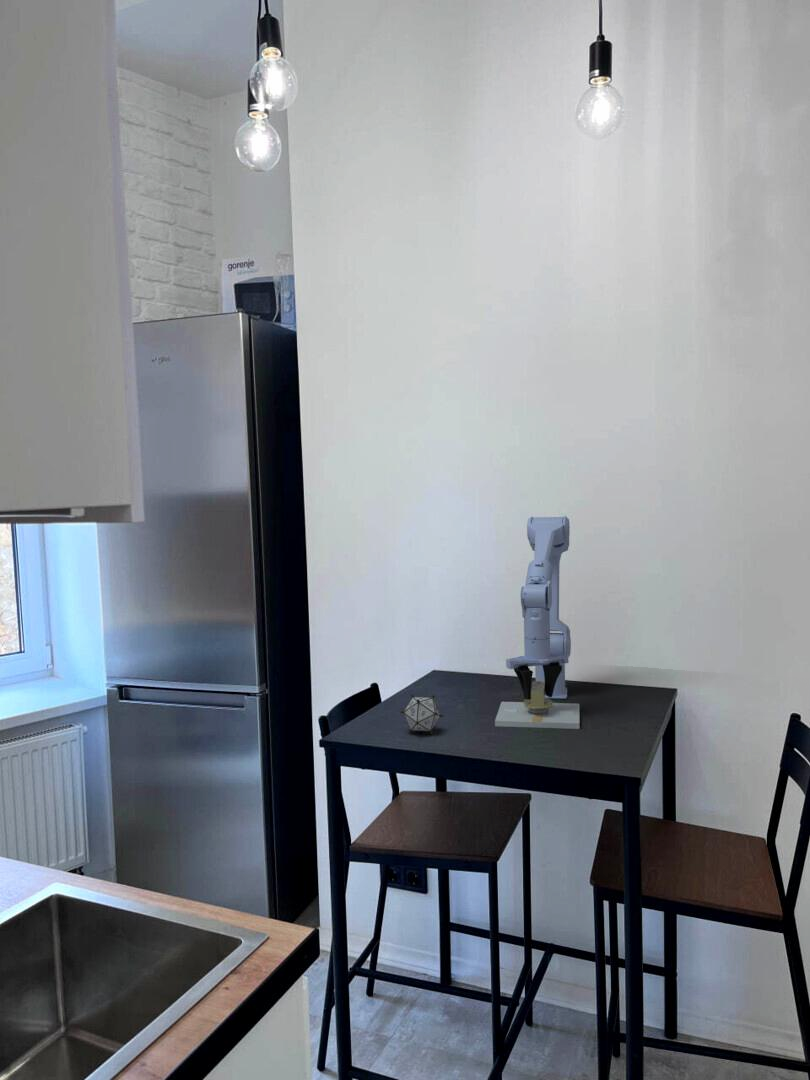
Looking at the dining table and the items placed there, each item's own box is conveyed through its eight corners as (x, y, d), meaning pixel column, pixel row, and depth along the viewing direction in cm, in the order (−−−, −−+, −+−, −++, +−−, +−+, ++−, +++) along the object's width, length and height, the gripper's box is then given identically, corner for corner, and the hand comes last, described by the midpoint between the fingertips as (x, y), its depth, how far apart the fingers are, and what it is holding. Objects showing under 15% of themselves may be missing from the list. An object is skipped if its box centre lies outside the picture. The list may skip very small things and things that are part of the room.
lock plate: (501, 706, 199) (501, 696, 199) (579, 708, 195) (579, 698, 195) (495, 726, 183) (494, 715, 183) (579, 728, 179) (579, 717, 179)
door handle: (522, 710, 185) (522, 690, 185) (525, 699, 194) (524, 680, 194) (552, 711, 184) (552, 690, 184) (553, 700, 193) (552, 681, 192)
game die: (429, 747, 182) (455, 708, 183) (420, 744, 174) (447, 704, 175) (397, 723, 185) (423, 685, 186) (386, 719, 177) (413, 680, 178)
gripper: (515, 643, 182) (516, 705, 183) (574, 637, 186) (575, 698, 187) (501, 637, 189) (502, 697, 190) (559, 632, 193) (560, 690, 194)
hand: (538, 697), depth 189 cm, fingers closed on door handle, 5 cm apart
